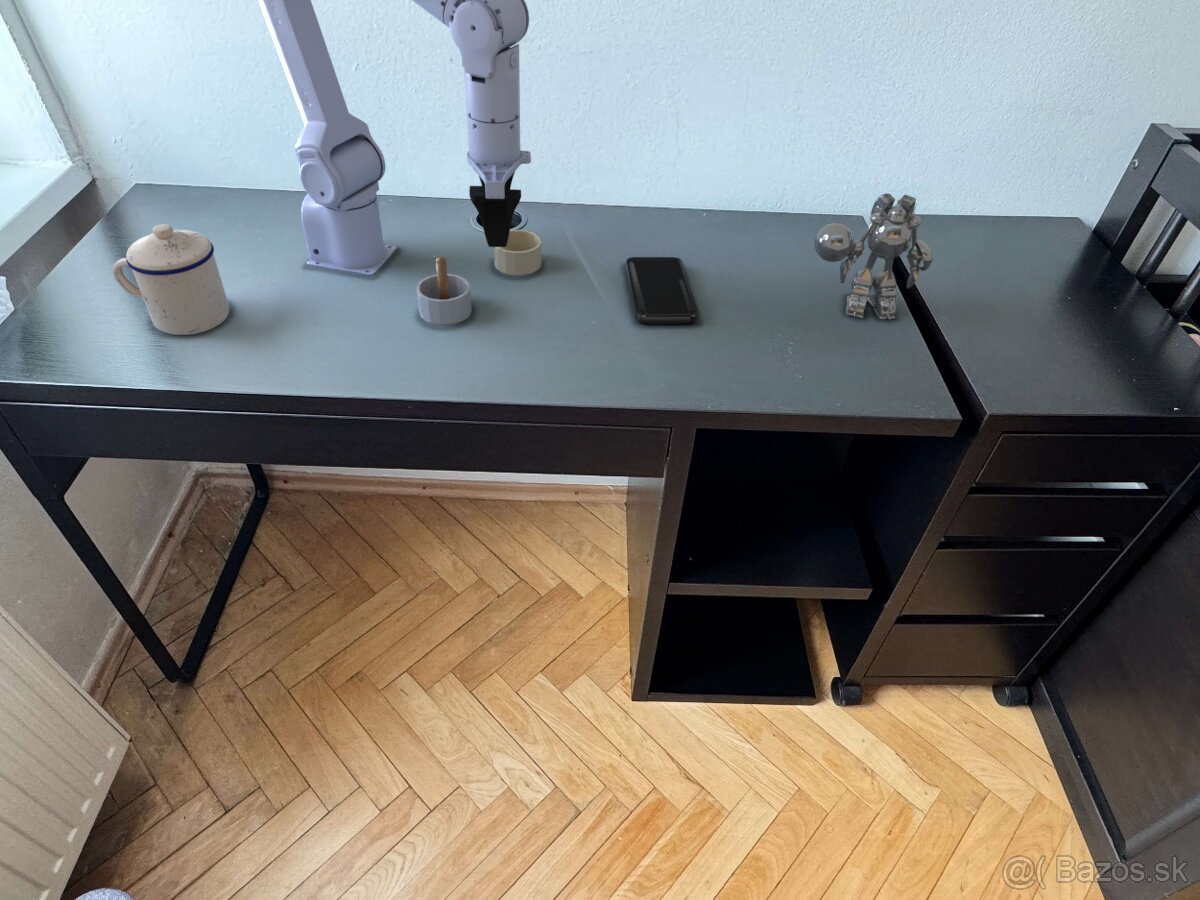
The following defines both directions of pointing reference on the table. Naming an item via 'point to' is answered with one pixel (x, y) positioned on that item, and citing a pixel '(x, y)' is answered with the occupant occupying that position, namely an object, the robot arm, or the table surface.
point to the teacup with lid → (176, 280)
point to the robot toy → (877, 253)
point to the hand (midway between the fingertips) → (497, 229)
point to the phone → (660, 291)
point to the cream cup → (519, 253)
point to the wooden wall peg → (442, 278)
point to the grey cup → (448, 308)
